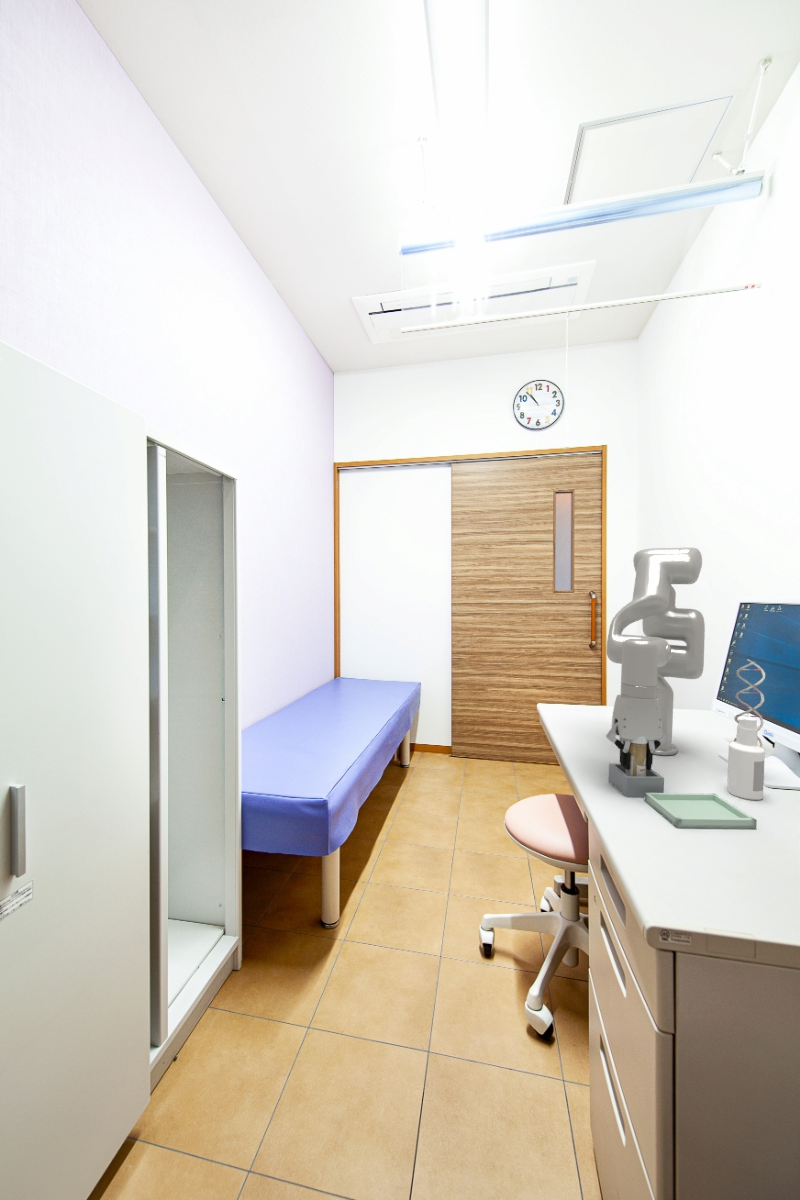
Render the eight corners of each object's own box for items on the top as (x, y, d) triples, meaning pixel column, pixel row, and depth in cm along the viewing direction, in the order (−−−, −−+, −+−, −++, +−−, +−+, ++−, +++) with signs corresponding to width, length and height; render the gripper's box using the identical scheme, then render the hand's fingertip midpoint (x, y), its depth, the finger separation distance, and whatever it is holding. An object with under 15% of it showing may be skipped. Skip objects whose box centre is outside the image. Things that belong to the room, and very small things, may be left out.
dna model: (766, 782, 116) (771, 663, 115) (736, 778, 118) (740, 661, 118) (756, 773, 122) (761, 659, 122) (727, 769, 125) (732, 657, 124)
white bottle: (769, 802, 105) (772, 723, 105) (735, 798, 106) (738, 720, 106) (753, 789, 112) (756, 715, 111) (721, 786, 113) (724, 713, 113)
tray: (644, 800, 105) (644, 792, 105) (714, 801, 105) (714, 793, 105) (677, 828, 93) (677, 819, 93) (756, 828, 93) (756, 820, 93)
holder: (608, 781, 115) (609, 763, 115) (643, 781, 115) (643, 763, 115) (626, 797, 106) (626, 777, 106) (663, 797, 106) (664, 778, 106)
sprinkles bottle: (646, 794, 108) (648, 737, 107) (625, 791, 109) (627, 734, 109) (644, 787, 112) (646, 731, 112) (623, 783, 114) (625, 729, 113)
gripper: (664, 688, 114) (661, 762, 114) (596, 687, 114) (593, 761, 114) (683, 695, 106) (680, 774, 107) (610, 694, 106) (608, 773, 107)
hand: (635, 766), depth 111 cm, fingers closed on sprinkles bottle, 4 cm apart
